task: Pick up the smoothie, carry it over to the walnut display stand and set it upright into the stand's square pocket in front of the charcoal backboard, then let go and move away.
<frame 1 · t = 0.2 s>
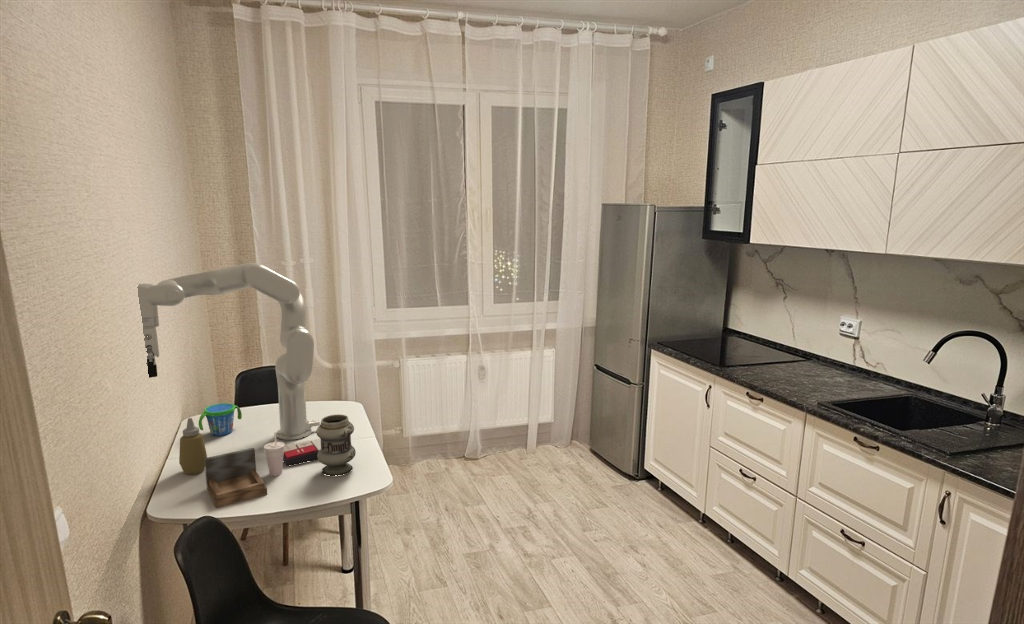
hand: (150, 373, 190), 31 cm above the table, tool pointing down, fingers open, 9 cm apart
apothecary jar: (337, 470, 191), on the table
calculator: (305, 458, 202), on the table
smoothie: (276, 474, 188), on the table
snack cup: (221, 433, 222), on the table
squeeze bottle: (194, 471, 189), on the table
display stand: (236, 491, 176), on the table
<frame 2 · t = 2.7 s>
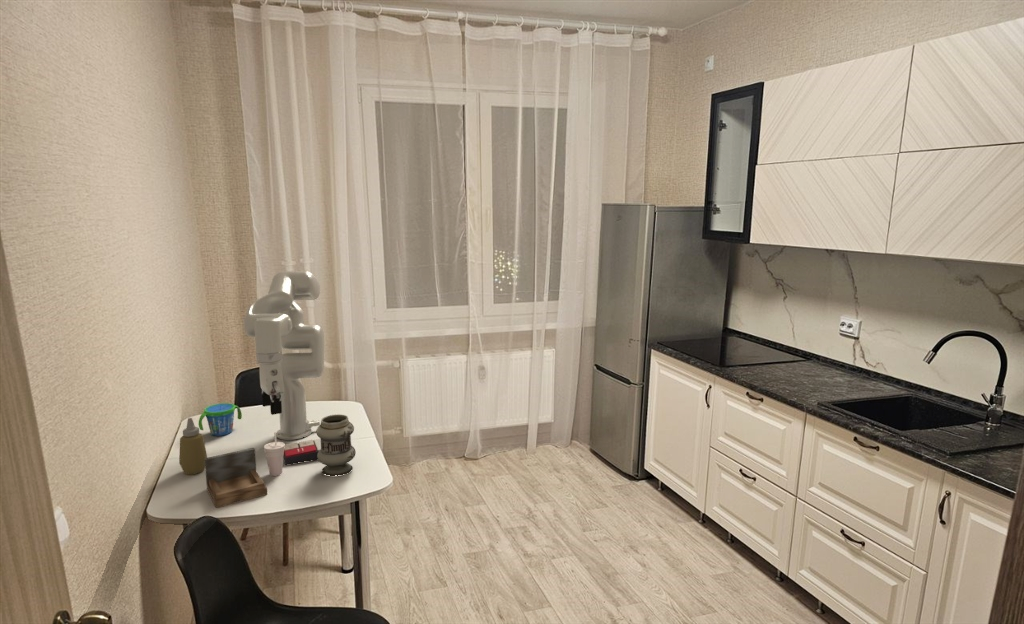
hand: (272, 409, 184), 22 cm above the table, tool pointing down, fingers open, 9 cm apart
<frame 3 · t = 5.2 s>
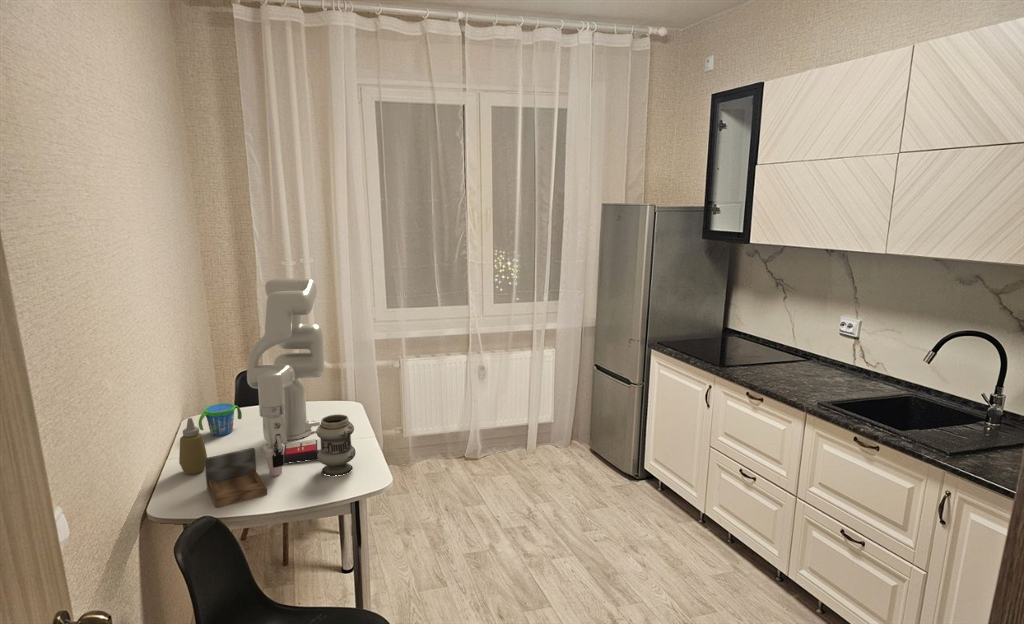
hand: (275, 462, 188), 4 cm above the table, tool pointing down, fingers closed on smoothie, 6 cm apart
smoothie: (276, 474, 188), on the table, touching gripper
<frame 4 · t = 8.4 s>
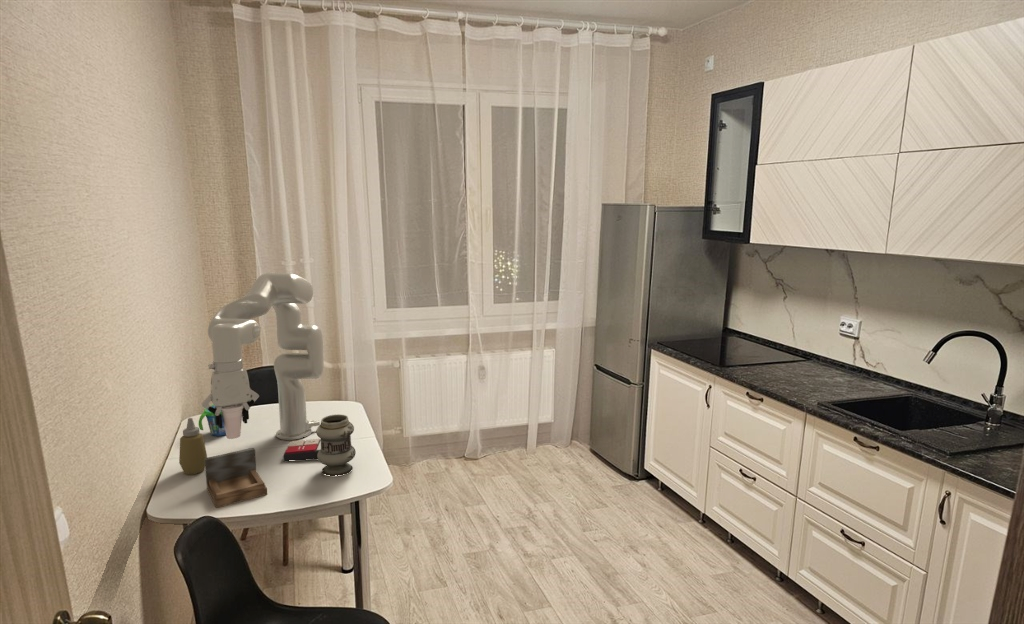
hand: (232, 423, 173), 21 cm above the table, tool pointing down, fingers closed on smoothie, 6 cm apart
smoothie: (233, 437, 173), point 17 cm above the table, touching gripper
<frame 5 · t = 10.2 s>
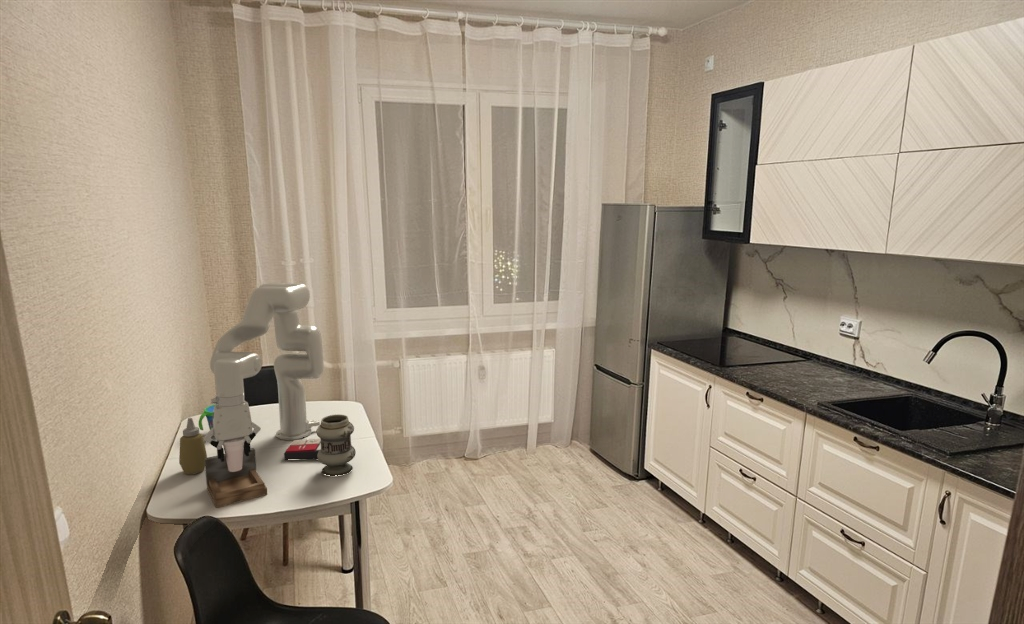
hand: (234, 456, 174), 11 cm above the table, tool pointing down, fingers closed on smoothie, 6 cm apart
smoothie: (235, 469, 175), point 7 cm above the table, touching gripper
when the fingers open (7 cm above the table, at t = 11.9 s): smoothie drops 1 cm, resting on display stand.
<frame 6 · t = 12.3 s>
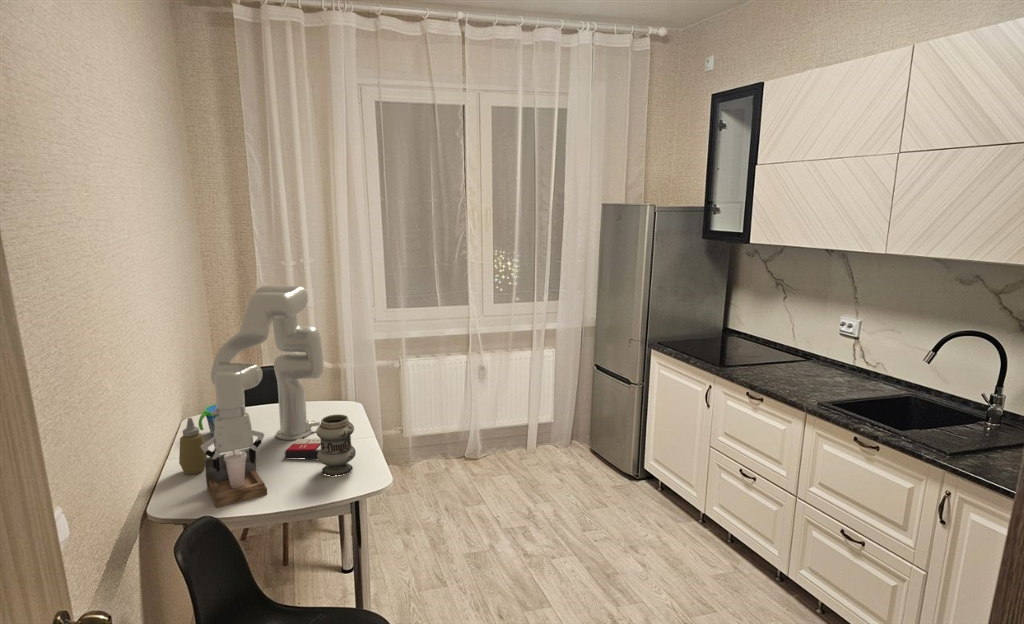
hand: (235, 465, 175), 8 cm above the table, tool pointing down, fingers open, 9 cm apart
smoothie: (237, 485, 176), point 2 cm above the table, touching display stand
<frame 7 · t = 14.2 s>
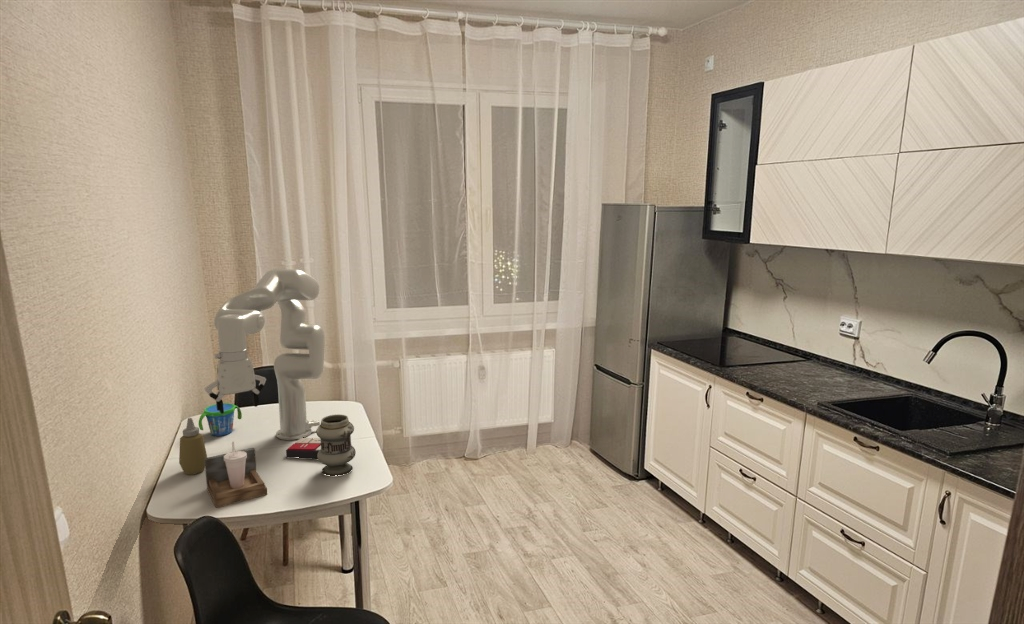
hand: (238, 408, 179), 24 cm above the table, tool pointing down, fingers open, 9 cm apart
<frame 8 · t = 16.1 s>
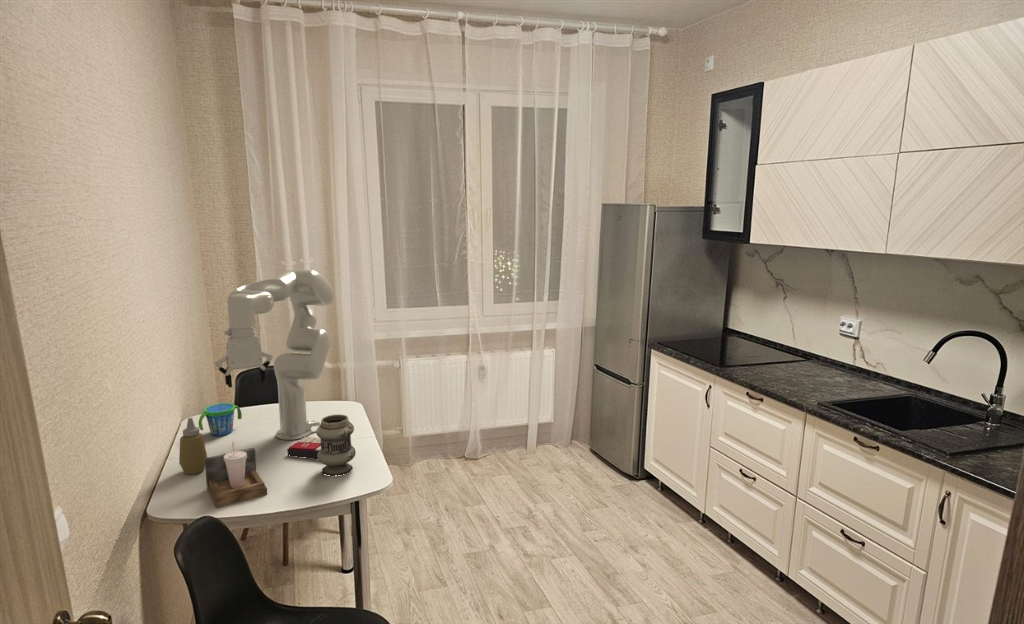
hand: (245, 383, 189), 28 cm above the table, tool pointing down, fingers open, 9 cm apart
at the end: smoothie 0.3 cm off-centre on the display stand, point 1.8 cm above the display stand's base; smoothie tilted 0°; the gripper is holding nothing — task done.
